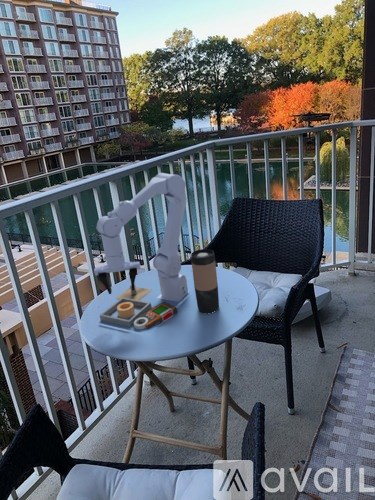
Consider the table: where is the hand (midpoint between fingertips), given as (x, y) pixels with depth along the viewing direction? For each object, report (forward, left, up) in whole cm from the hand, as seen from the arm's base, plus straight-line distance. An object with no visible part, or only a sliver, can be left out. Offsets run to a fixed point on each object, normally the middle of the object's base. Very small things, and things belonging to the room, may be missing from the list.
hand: (122, 291), depth 122 cm
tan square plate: (+6, -12, -9) cm, 17 cm away
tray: (0, 0, -9) cm, 9 cm away
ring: (0, 0, -9) cm, 9 cm away
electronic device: (-11, -1, -10) cm, 15 cm away
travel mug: (-25, -12, -10) cm, 30 cm away
